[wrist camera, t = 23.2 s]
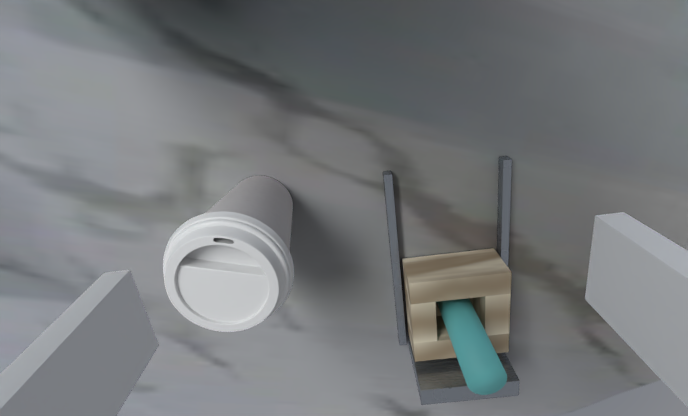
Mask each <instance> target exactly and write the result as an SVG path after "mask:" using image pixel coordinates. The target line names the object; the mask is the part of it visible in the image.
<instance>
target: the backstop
mask: <svg viewBox="0 0 688 416" xmlns="http://www.w3.org/2000/svg"><path fill="white" fill-rule="evenodd" d="M511 170H512V159H510V158H509V157H508V156H505V157H499V179H498V226H497V253H498V255H499V256H500V257H501V259H502V260H503V261H504V263H505V264H506V265H507V267H508V258H509V228H510V199H511ZM383 180H384V190H385V201H386V211H387V222H388V232H389V243H390V254H391V264H392V275H393V285H394V296H395V306H396V317H397V327H398V338H399V343H400V345H407V343H406V331H405V319H404V308H403V296H402V284H401V273H400V261H399V250H398V238H397V226H396V215H395V203H394V191H393V180H392V173H391V171H384V172H383ZM408 338H409V350H410V355H411V359H412V364H413V368H414V373H415V377H416V382H417V386H418V391H419V395H420V400H421V404H422V405H426V404H436V403H446V402H456V401H466V400H477V399H487V398H497V397H507V396H517V395H519V379H518V377H517V375H516V373H515V371H514V369H513V368H512V366H511V364H510V362H509V360H508V358H507V356H506V354H505V352H504V353H497V355H498V357H499V359H500V361H501V363H502V366H503V368H504V370H505V372H506V374H507V381H506V384H505V385H504V386H503V388H502V389H500V390H499V391H497V392H495V393H493V394H489V395H479V394H476V393H474V392H472V391H471V390H470V389H469V388H468V386H467V384H466V381H465V378H464V376H463V373H462V370H461V367H460V365H459V362H458V359H457V357H456V358H446V359H436V360H426V361H417V362H415V359H414V355H413V350H412V346H411V342H410V337H408Z"/></svg>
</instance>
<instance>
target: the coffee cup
mask: <svg viewBox="0 0 688 416" xmlns="http://www.w3.org/2000/svg"><path fill="white" fill-rule="evenodd" d="M292 214H293V202H292V198H291V195H290V193H289V191H288V190H287V189H286V187H285V186H284V185H283V184H281V183H280V182H279V181H277V180H275V179H273V178H271V177H267V176H251V177H248V178H246V179H244V180H242V181H241V182H240V183H238V184H237V185H236V186H235V187H234V188H233V189H232V190H231V191H229V192H228V193H227V194H226V195H225V196H224V197H223V198H222V199H220V200H219V201H218V202H217V203H216V204H215V205H214V206H213V207H211V208H210V209H209V210H208V211H207V212H206V213H205V214H201V215H198V216H196V217H194V218H192V219H190V220H188V221H186V222H185V223H184V224H182V225H181V226H180V227H179V228H178V229H177V230H176V231H175V232H174V233H173V235H172V236H171V238H170V240H169V242H168V244H167V247H166V250H165V254H164V259H163V275H164V282H165V288H166V291H167V294H168V297H169V299H170V300H171V302H172V304H173V305H174V307H175V308H176V309H177V310H178V311H179V312H180V313H181V314H182V315H183V316H184V317H185V318H187V319H188V320H190V321H191V322H193V323H195V324H197V325H199V326H201V327H203V328H206V329H210V330H214V331H220V332H236V331H242V330H246V329H249V328H251V327H254V326H256V325H258V324H259V323H261V322H262V321H263V320H265V319H267V318H268V317H270V316H271V315H272V314H273V313H275V312H276V311H277V310H278V309H279V308H280V307H281V306H282V304H283V303H284V302H285V300H286V299H287V297H288V296H289V294H290V291H291V289H292V286H293V282H294V264H293V260H292V257H291V254H290V241H291V227H292Z"/></svg>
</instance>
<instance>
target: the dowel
mask: <svg viewBox="0 0 688 416" xmlns="http://www.w3.org/2000/svg"><path fill="white" fill-rule="evenodd" d="M437 304H438V307H439V310H440V313H441V315H442V318H443V321H444V324H445V326H446V329H447V332H448V335H449V337H450V340H451V343H452V345H453V348H454V351H455V354H456V356H457V359H458V362H459V365H460V367H461V370H462V373H463V376H464V378H465V381H466V384H467V386H468V388H469V389H470V390H471V391H472V392H474V393H476V394H479V395H489V394H493V393H495V392H497V391H499V390H500V389H502V388H503V386H504V385H505V384H506V381H507V374H506V372H505V370H504V368H503V366H502V363H501V361H500V359H499V357H498V355H497V353H496V351H495V349H494V347H493V345H492V343H491V341H490V339H489V337H488V335H487V333H486V331H485V329H484V327H483V325H482V323H481V321H480V319H479V317H478V315H477V313H476V311H475V309H474V307H473V305H472V303H471V301H470V299H469V298H466V299H457V300H448V301H438V302H437Z"/></svg>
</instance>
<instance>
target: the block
mask: <svg viewBox="0 0 688 416" xmlns="http://www.w3.org/2000/svg"><path fill="white" fill-rule="evenodd" d="M402 264H403V276H404V288H405V300H406V312H407V324H408V333H409V337H410V342H411V346H412V350H413V355H414V359H415V362H417V361H426V360H436V359H446V358H456V357H457V356H456V354H455V351H454V348H453V345H452V343H451V340H450V337H449V335H448V332H447V329H446V326H445V324H444V321H443V318H442V315H441V313H440V310H439V307H438V304H437V302H438V301H448V300H457V299H466V298H469V299H470V301H471V303H472V305H473V307H474V309H475V311H476V313H477V315H478V317H479V319H480V321H481V323H482V325H483V327H484V329H485V331H486V333H487V335H488V337H489V339H490V341H491V343H492V345H493V347H494V349H495V351H496V353H504V352H509V326H510V299H511V273H512V272H511V271H510V269H509V268H508V267H507V265H506V264H505V263H504V261H503V260H502V259H501V257H500V256H499V255H498V253H497V252H496V251H495V249H494V248H492V249H483V250H474V251H465V252H457V253H448V254H439V255H430V256H422V257H413V258H404V259H402Z"/></svg>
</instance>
